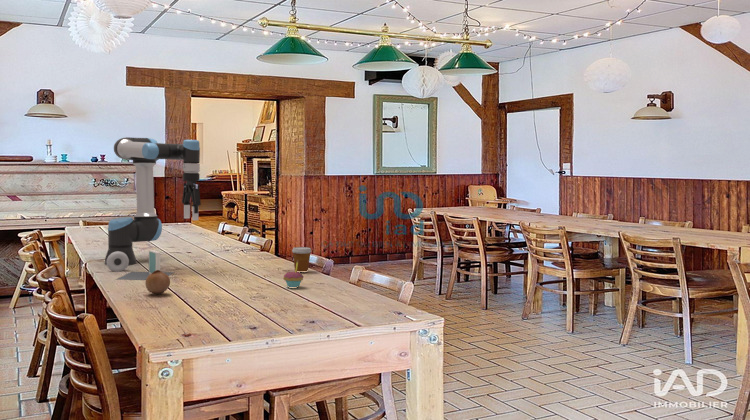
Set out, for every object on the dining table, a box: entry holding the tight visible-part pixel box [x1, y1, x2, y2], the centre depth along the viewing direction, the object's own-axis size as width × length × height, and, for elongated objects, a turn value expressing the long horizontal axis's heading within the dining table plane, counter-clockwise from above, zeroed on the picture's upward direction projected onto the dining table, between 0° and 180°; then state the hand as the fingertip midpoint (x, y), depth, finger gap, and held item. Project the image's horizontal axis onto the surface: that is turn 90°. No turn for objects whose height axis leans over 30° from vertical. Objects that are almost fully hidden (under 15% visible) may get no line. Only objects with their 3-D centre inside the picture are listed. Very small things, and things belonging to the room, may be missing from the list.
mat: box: [115, 271, 175, 281], centre depth 316 cm, size 22×20×1 cm
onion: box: [144, 269, 171, 295], centre depth 276 cm, size 10×9×10 cm
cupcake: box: [282, 261, 304, 287], centre depth 298 cm, size 9×8×12 cm
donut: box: [106, 251, 129, 272], centre depth 327 cm, size 10×3×10 cm, turn 114°
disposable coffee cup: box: [291, 246, 312, 271], centre depth 340 cm, size 10×10×12 cm
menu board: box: [148, 249, 161, 274], centre depth 318 cm, size 2×10×11 cm, turn 36°
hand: (191, 219), depth 328 cm, fingers open, 10 cm apart
